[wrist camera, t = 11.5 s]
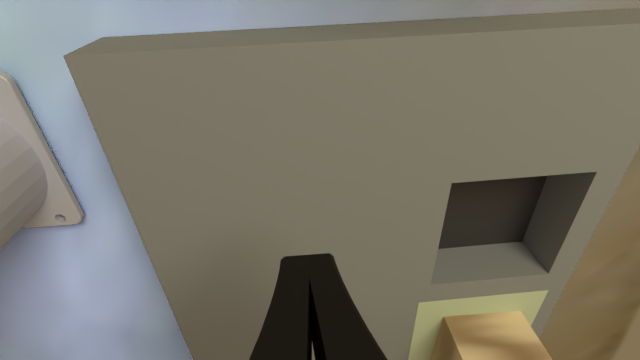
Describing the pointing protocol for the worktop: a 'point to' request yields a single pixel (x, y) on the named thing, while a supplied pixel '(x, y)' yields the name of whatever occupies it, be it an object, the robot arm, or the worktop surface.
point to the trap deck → (368, 163)
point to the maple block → (488, 338)
